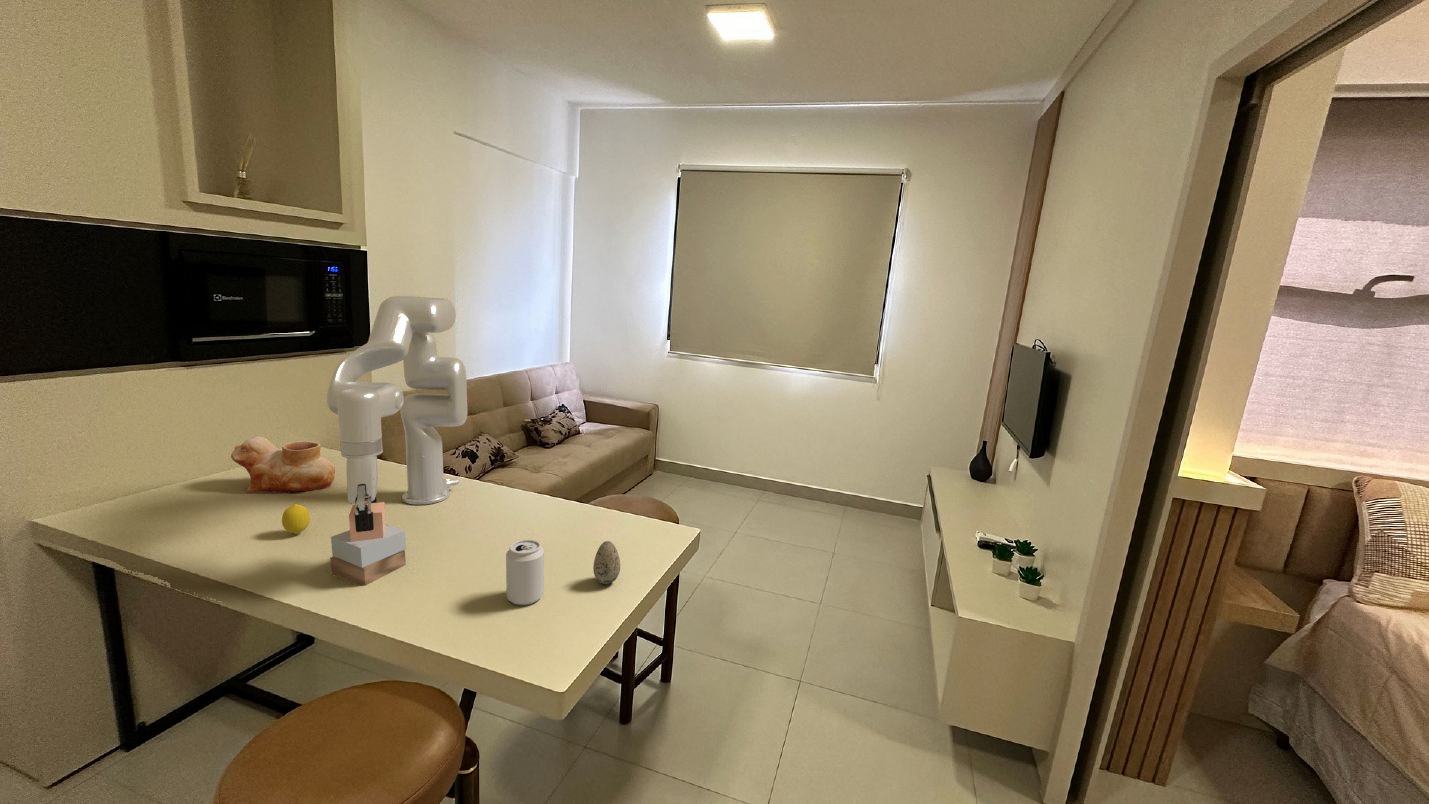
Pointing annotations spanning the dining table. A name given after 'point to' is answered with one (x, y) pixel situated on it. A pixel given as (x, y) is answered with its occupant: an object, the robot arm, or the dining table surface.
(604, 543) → the decorative egg
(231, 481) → the dining table surface
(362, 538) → the block
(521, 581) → the can
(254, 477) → the ceramic vessel
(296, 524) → the lemon
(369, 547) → the tower top
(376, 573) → the tower base
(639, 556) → the dining table surface
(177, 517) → the dining table surface
